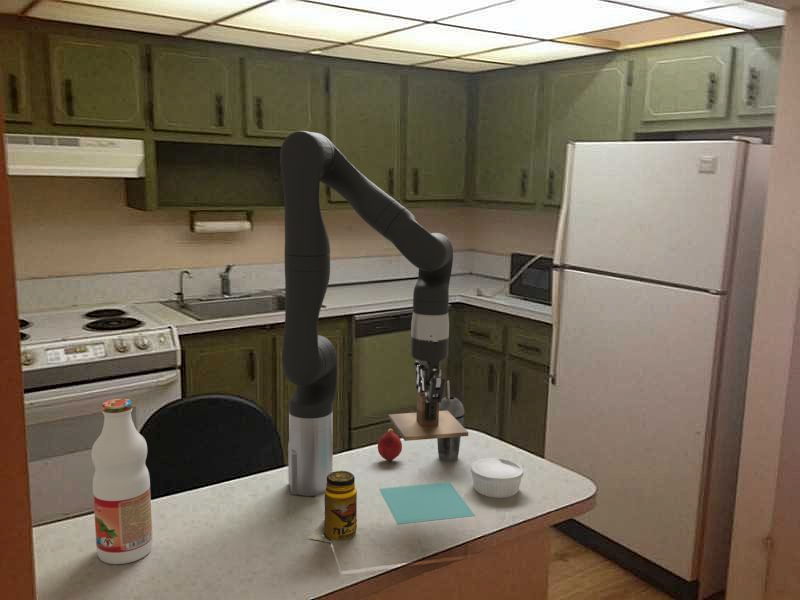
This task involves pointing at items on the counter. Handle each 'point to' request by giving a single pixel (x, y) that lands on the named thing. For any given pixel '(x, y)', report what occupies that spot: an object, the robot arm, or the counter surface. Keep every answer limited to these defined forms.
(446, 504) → the mat
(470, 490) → the counter surface
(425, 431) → the lid
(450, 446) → the beverage cup
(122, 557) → the fruit juice
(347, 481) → the condiment
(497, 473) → the ramekin
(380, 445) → the pomegranate
